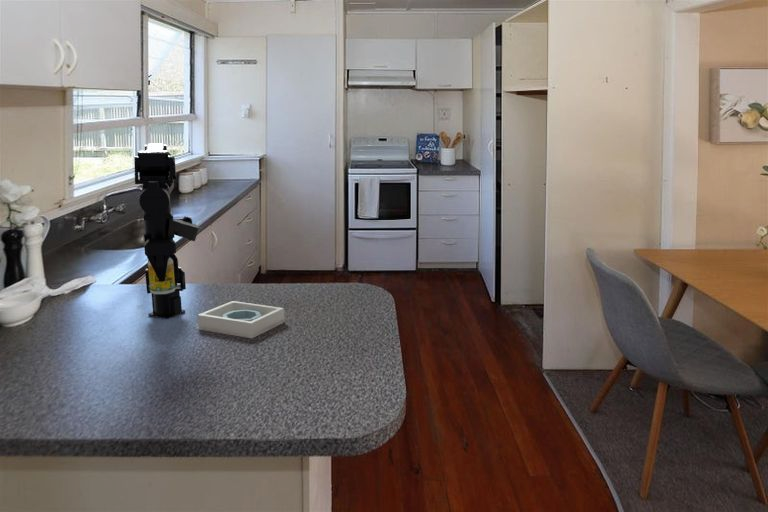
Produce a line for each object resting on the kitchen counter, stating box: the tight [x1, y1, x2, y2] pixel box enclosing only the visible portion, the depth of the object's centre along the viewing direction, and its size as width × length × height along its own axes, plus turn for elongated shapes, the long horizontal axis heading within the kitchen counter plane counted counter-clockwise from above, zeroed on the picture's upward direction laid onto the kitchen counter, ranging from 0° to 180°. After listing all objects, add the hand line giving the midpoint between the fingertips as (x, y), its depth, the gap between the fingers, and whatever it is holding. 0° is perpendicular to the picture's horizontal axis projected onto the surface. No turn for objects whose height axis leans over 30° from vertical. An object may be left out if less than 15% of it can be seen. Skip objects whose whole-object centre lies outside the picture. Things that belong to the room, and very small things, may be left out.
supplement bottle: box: [147, 258, 175, 294], centre depth 146 cm, size 5×5×10 cm
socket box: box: [197, 300, 285, 339], centre depth 154 cm, size 15×13×4 cm
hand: (161, 278), depth 146 cm, fingers closed on supplement bottle, 5 cm apart
